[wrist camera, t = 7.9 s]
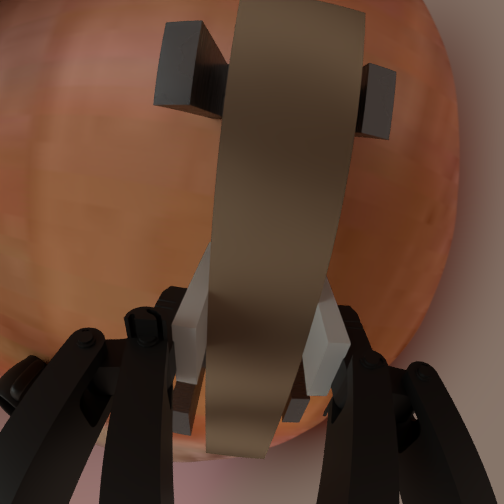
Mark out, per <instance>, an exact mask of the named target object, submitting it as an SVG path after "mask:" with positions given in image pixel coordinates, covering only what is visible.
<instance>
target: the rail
mask: <svg viewBox="0 0 504 504" xmlns="http://www.w3.org/2000/svg"><path fill="white" fill-rule="evenodd" d="M364 36H365V13H364V12H360V11H357V10H353V9H350V8H346V7H342V6H338V5H334V4H330V3H326V2H321V1H316V0H240V2H239V7H238V13H237V19H236V25H235V31H234V37H233V44H232V50H231V57H230V64H229V71H228V78H227V85H226V93H225V101H224V109H223V117H222V126H221V135H220V144H219V153H218V163H217V174H216V185H215V196H214V208H213V221H212V235H211V250H210V267H209V286H208V316H207V346H206V453H212V454H219V455H227V456H236V457H246V458H260V459H264V458H265V455H266V453H267V451H268V449H269V446H270V444H271V441H272V439H273V436H274V434H275V431H276V429H277V426H278V424H279V421H280V419H281V416H282V413H283V411H284V408H285V405H286V403H287V400H288V397H289V394H290V392H291V389H292V386H293V383H294V380H295V377H296V374H297V372H298V369H299V366H300V363H301V360H302V355H303V352H304V349H305V346H306V342H307V339H308V336H309V333H310V329H311V326H312V322H313V319H314V315H315V312H316V308H317V305H318V303H319V300H320V296H321V293H322V289H323V285H324V282H325V278H326V274H327V270H328V266H329V262H330V258H331V254H332V250H333V245H334V241H335V237H336V232H337V228H338V223H339V219H340V214H341V209H342V204H343V199H344V194H345V189H346V184H347V178H348V173H349V167H350V161H351V155H352V149H353V142H354V135H355V128H356V121H357V113H358V105H359V97H360V88H361V77H362V66H363V53H364Z"/></svg>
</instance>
